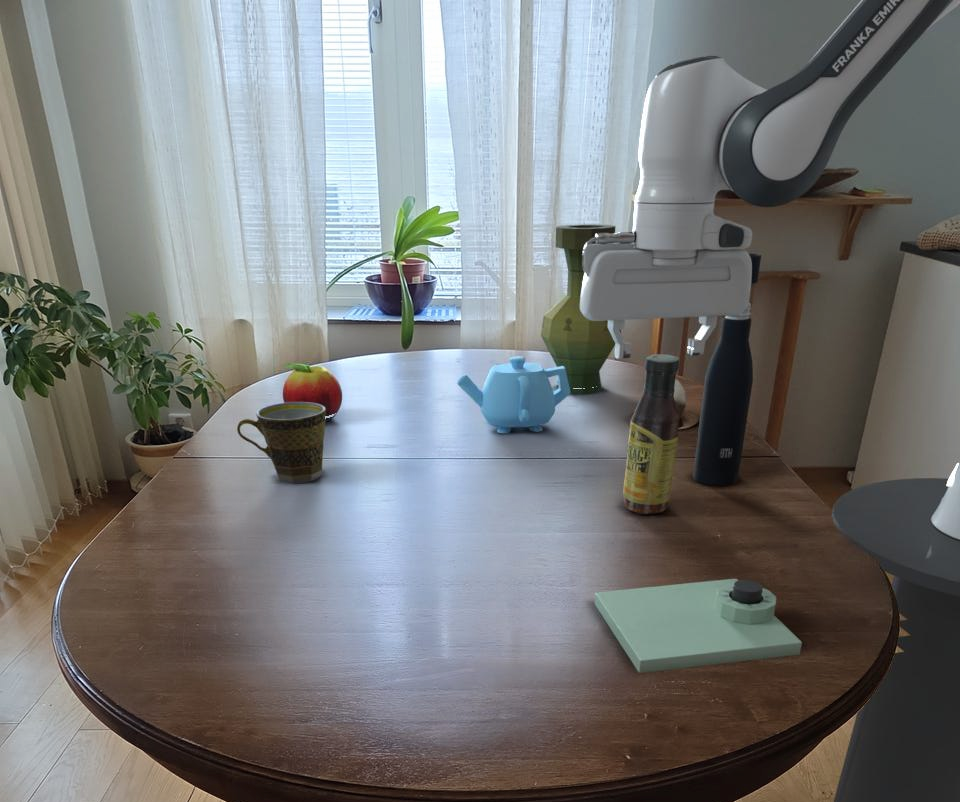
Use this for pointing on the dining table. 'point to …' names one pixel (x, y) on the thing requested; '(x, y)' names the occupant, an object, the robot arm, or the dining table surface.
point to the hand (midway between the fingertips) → (658, 356)
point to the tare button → (747, 592)
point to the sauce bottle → (653, 439)
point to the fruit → (313, 387)
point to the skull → (681, 407)
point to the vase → (577, 317)
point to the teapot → (518, 394)
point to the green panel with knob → (694, 626)
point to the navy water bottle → (726, 400)
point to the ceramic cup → (292, 439)
